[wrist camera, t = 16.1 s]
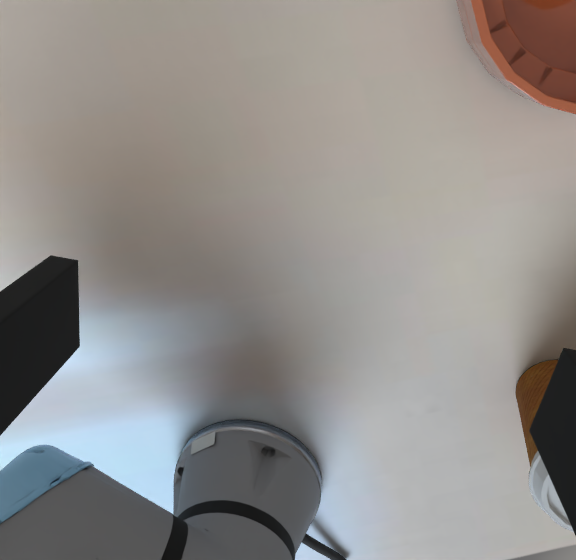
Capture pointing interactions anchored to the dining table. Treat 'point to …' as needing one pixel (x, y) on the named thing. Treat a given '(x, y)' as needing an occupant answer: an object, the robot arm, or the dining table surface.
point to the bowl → (526, 46)
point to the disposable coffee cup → (539, 481)
